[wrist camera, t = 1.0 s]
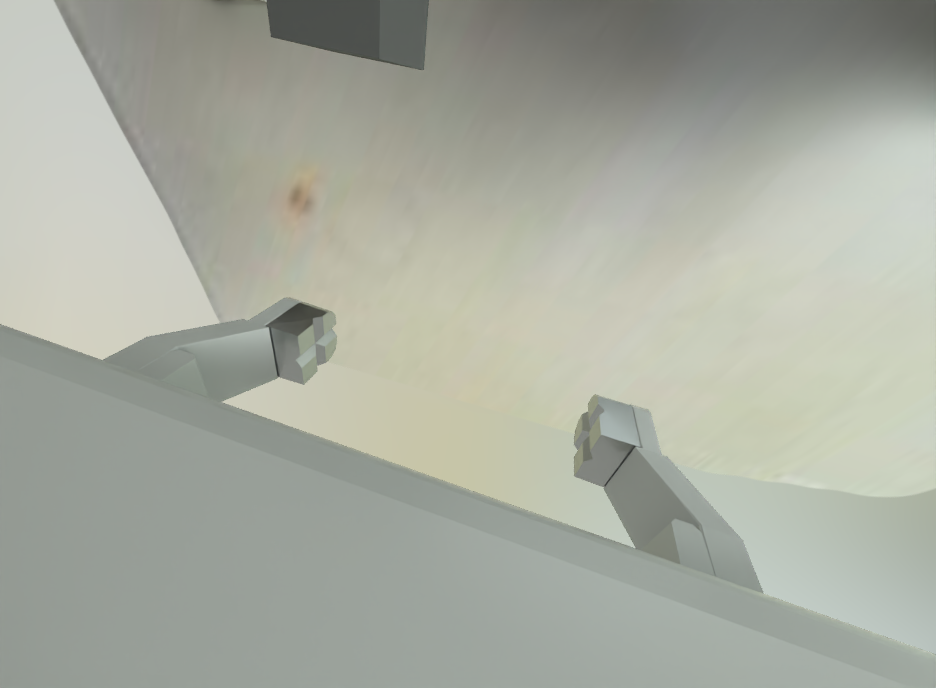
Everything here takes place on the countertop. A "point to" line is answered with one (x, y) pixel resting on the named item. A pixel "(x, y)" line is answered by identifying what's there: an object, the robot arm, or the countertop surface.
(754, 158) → the countertop surface
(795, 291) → the countertop surface
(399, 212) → the countertop surface
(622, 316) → the countertop surface
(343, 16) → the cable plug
